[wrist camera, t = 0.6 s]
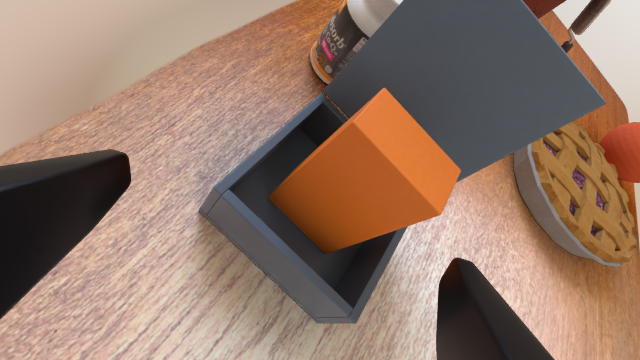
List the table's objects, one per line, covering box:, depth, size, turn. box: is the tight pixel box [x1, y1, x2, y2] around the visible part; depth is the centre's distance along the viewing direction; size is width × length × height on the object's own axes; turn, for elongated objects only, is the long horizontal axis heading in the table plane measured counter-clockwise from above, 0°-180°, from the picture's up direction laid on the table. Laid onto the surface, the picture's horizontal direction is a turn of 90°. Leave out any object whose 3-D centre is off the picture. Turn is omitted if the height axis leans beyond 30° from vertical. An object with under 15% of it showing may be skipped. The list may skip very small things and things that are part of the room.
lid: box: [323, 0, 606, 182], centre depth 21 cm, size 12×11×4 cm
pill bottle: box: [310, 0, 403, 85], centre depth 29 cm, size 6×6×10 cm
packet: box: [268, 88, 461, 254], centre depth 20 cm, size 4×6×11 cm, turn 53°
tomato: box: [600, 122, 640, 183], centre depth 54 cm, size 10×10×10 cm
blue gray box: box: [199, 93, 407, 324], centre depth 23 cm, size 11×11×5 cm
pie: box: [514, 122, 637, 267], centre depth 44 cm, size 22×22×5 cm
